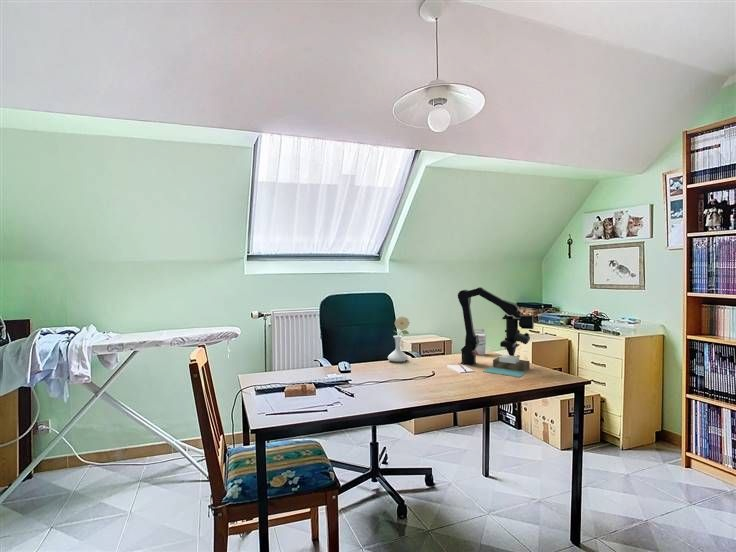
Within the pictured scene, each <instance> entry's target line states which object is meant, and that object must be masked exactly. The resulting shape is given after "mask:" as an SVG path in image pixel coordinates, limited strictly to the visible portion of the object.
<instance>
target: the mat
mask: <svg viewBox="0 0 736 552" xmlns="http://www.w3.org/2000/svg"><path fill="white" fill-rule="evenodd" d="M482 372H483V373H488V374H495V375H501V376H507V377H508V376H509V377H514V378H515V377H516V378H521V377H522V376H524V375H525V374H526V373H527V371H526V372H525V371H518V370H510V369H503V368H496V367H493V366H490V367H487V368H486V369H484V370H483V371H482Z"/></svg>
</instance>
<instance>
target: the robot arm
mask: <svg viewBox="0 0 736 552" xmlns="http://www.w3.org/2000/svg"><path fill="white" fill-rule="evenodd" d="M477 296H480V297H481V298H484V300H487V301H488V302H490V303H492V304H494V305H496V306H497V307H499V308H500V309H501V310H502V311H503V312H504V313H505V314H504V316H503V317H502V318H501V319H502V320H505V330H504V332H505V338H504V339H503V340H501V341H500V343H499V346H500V347H501V348H505V349H506V351H507V353H508V355H512V356H515V353H516V349H517V348H518V347H519V346H520V345H521V344H523V345H528V343H529V341H530V340H531V336H530V334H529V333H528V332H525V333H522V332H521V333H520V330H519V327H520V329H522V330H523V329H524V330H525V329H526V330H534V325H535V324H534V323H535V321H534V315H532V314H531V315H523V314H522V312H521V311H520V310H519V306H518V305H517V304H516V303H514V302H512V301H509V300H505V299H502V298H501V297H499V296H497V295H495V294H493V293H491V292H490V291H488V290H486V289H485V288H483V287H477V288H474V289H471V290H470V289H469V290H468V289H463V290H460V291H459V292H457V299H458V302H459V304H460V306H461V308H462V315H463V316H462V317H463V323H464V328H465V329H464V330H465V339H464V342H465V343H464V346H463V347H462V348H460V351H461V362H459V363H460V364H461V365H468V366H473V365H475V364H476V363H477V362H476V360H477V358H476V357H477V355H475V352H473V351H474V350H475V349H476V348H477V347H478V344H479V339H478V335H475V333H474V329H475V328H474V322H473V315H472V309H471V302H472V297H473V298H474V297H477ZM518 342H519V343H518ZM520 343H521V344H520Z"/></svg>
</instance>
